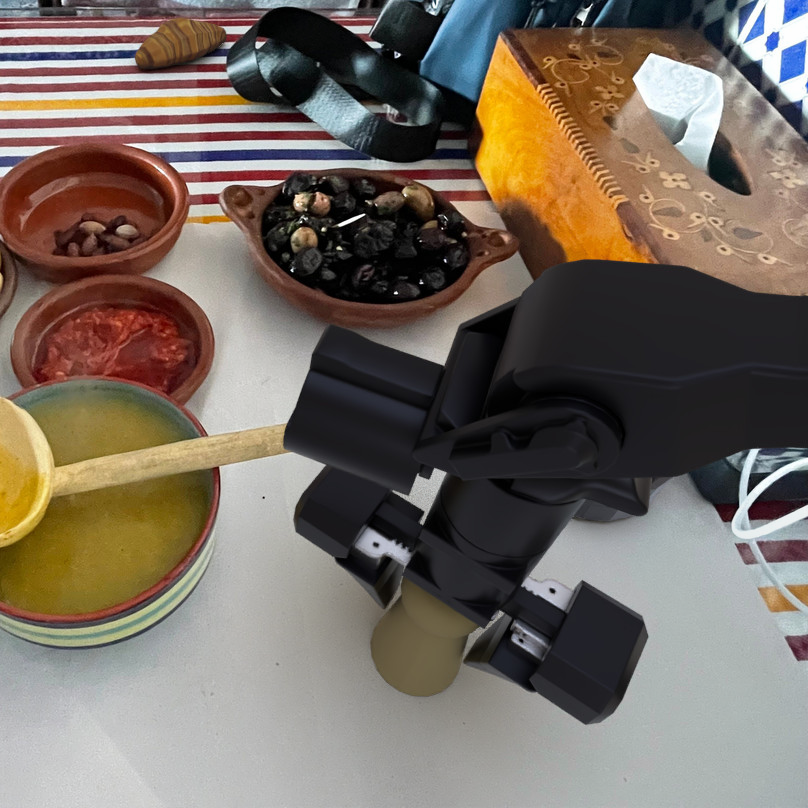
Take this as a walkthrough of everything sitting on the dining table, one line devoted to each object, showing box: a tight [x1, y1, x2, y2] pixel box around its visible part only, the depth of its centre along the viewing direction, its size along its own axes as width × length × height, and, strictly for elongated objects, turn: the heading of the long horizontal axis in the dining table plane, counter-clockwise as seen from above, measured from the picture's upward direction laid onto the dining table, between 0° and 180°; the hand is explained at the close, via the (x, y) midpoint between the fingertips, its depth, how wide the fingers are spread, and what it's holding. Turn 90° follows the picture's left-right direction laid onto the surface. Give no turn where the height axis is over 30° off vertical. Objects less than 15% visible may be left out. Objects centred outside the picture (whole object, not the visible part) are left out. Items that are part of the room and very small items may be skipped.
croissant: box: [134, 17, 228, 70], centre depth 96 cm, size 14×7×5 cm, turn 129°
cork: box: [370, 576, 481, 697], centre depth 46 cm, size 6×6×11 cm
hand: (427, 629), depth 48 cm, fingers closed on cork, 6 cm apart
